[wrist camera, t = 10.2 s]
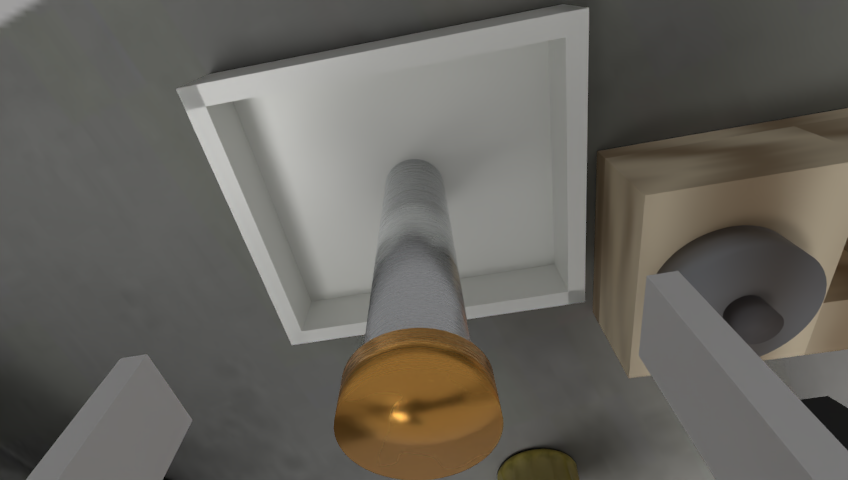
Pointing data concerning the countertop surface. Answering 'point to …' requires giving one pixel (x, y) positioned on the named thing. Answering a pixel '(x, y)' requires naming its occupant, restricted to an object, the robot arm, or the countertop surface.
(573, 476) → the vase
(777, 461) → the robot arm
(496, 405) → the pin
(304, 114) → the tray
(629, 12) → the countertop surface
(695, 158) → the wooden socket block
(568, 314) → the countertop surface
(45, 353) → the countertop surface
